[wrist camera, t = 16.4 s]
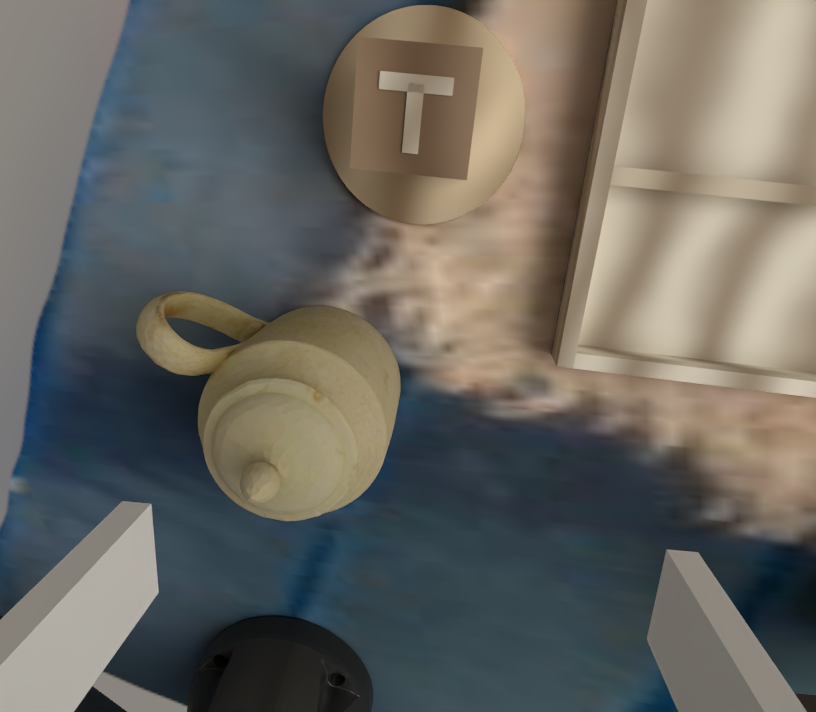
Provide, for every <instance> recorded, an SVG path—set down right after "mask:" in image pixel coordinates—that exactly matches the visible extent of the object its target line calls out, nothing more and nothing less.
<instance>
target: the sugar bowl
mask: <svg viewBox="0 0 816 712" xmlns="http://www.w3.org/2000/svg"><path fill="white" fill-rule="evenodd" d="M165 318H182V319H186V320H190V321H194V322H197V323H200V324H203V325H205V326H208V327H210V328H213V329H215V330H218V331H220V332H222V333H224V334H226V335H228V336H229V337H231V338H233V339H235V340H237V341H239V342H241V343H239V344H236V345H232V346H228V347H223V348H217V349H213V350H210V349H204V348H200V347H197V346H194V345H192V344H190V343H189V342H187V341H185V340H183V339H182V338H181V337H179V336H178V335H177V334H176V333H175V332H174V331H173V330H172V328H171V327H170V326H169V324H168V323H167V321H166V319H165ZM136 334H137V338H138V341H139V343H140V345H141V348H142V349H143V350H144V352H145V353H146V354H147V355H148V356H149V357H150V358H151V359H152V360H153V361H154V362H155V363H156V364H157V365H159V366H161V367H163V368H165V369H167V370H168V371H171V372H173V373H176V374H181V375H188V376H197V375H203V374H211V376H210V377H209V379H208V381H207V383H206V385H205V388H204V390H203V393H202V396H201V399H200V403H199V408H198V430H199V436H200V440H201V443H202V447H203V451H204V456H205V461H206V464H207V466H208V469H209V471H210V473H211V474H212V476H213V478H214V480H215V481H216V483H217V484H218V485H219V487H220V488H221V489H222V490H223V492H224V493H225V494H226V495H227V496H229V497H230V498H231V499H232V500H233V501H234V502H235V503H237V504H238V505H239V506H241V507H243V508H244V509H246V510H248V511H251V512H253V513H255V514H257V515H259V516H262V517H266V518H272V519H277V520H282V521H297V520H304V519H308V518H312V517H316V516H319V515H321V514H323V513H327V512H330V511H334V510H337V509H339V508H341V507H343V506H345V505H347V504H349V503H351V502H352V501H353V500H355V499H356V498H358V497H359V496H360V495H361V494H362V493H363V492H364V491H365V490H366V489H367V488H368V487H369V486H370V485H371V483H372V482H373V481H374V479H375V478H376V476H377V474H378V473H379V471H380V469H381V466H382V464H383V461H384V458H385V455H386V452H387V449H388V446H389V443H390V439H391V435H392V432H393V428H394V423H395V418H396V413H397V408H398V402H399V397H400V390H401V387H400V372H399V368H398V364H397V361H396V358H395V356H394V353H393V351H392V349H391V348H390V346H389V345H388V343H387V341H386V340H385V339H384V338H383V336H382V335H381V334H380V333H379V332H378V331H377V330H376V329H375V328H374V327H373V326H372V325H371V324H369V323H368V322H367V321H365V320H363V319H362V318H360V317H359V316H357V315H354V314H352V313H350V312H347V311H344V310H341V309H338V308H333V307H328V306H313V307H303V308H299V309H296V310H293V311H290V312H288V313H285V314H283V315H281V316H280V317H278V318H277V319H275V320H273V321H272V322H266V321H263V320H260V319H258V318H255V317H253V316H251V315H249V314H247V313H245V312H243V311H241V310H239V309H237V308H235V307H233V306H231V305H229V304H227V303H225V302H223V301H220V300H218V299H215V298H212V297H210V296H206V295H203V294H199V293H195V292H186V291H175V292H169V293H166V294H163V295H160V296H157V297H156V298H154V299H152V300H151V301H150V302H149V303H148V304H147V305H146V306H145V307H144V308H143V310H142V312H141V314H140V316H139V318H138V321H137V326H136Z"/></svg>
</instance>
